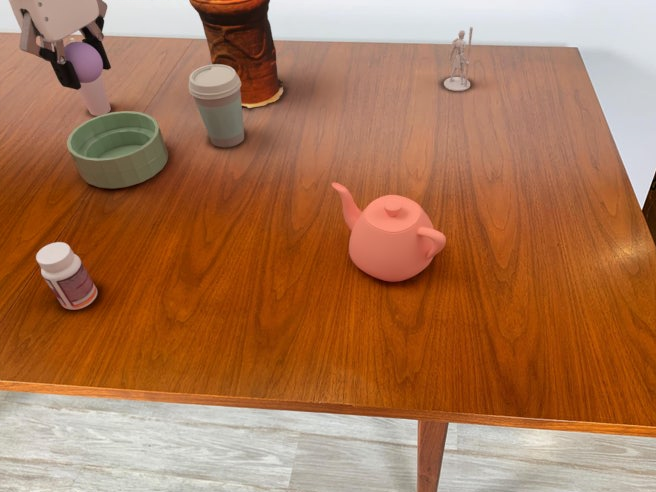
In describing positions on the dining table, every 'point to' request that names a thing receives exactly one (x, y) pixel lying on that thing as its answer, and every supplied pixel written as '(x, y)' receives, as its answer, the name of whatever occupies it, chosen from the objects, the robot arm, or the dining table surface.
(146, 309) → the dining table surface
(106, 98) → the smoothie
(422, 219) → the teapot
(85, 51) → the ball
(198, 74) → the coffee cup
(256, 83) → the vessel
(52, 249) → the pill bottle
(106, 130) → the bowl
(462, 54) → the figurine
